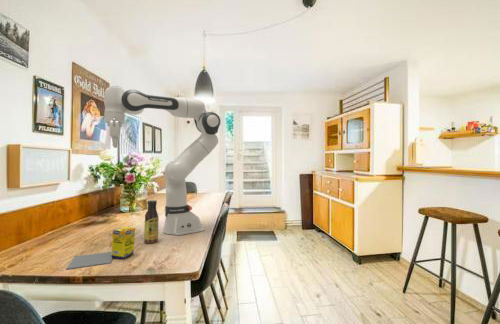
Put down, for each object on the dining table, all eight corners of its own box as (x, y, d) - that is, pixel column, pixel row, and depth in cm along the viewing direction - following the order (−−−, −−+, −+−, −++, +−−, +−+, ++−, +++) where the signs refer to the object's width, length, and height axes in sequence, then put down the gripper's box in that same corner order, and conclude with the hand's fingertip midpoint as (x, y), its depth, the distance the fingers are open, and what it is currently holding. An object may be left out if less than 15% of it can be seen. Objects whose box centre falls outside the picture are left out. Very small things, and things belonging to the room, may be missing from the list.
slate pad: (114, 252, 102) (114, 251, 102) (110, 263, 91) (110, 262, 91) (75, 257, 96) (75, 256, 96) (65, 269, 85) (65, 268, 85)
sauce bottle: (149, 245, 110) (149, 202, 110) (141, 242, 114) (141, 200, 114) (161, 240, 116) (161, 200, 116) (153, 238, 119) (153, 199, 119)
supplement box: (123, 259, 94) (125, 231, 94) (110, 257, 95) (112, 229, 96) (134, 253, 100) (135, 227, 100) (121, 252, 101) (123, 226, 101)
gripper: (121, 116, 111) (122, 146, 111) (122, 122, 129) (122, 148, 130) (105, 115, 108) (106, 145, 108) (108, 121, 126) (108, 148, 127)
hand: (115, 147), depth 119 cm, fingers open, 8 cm apart
